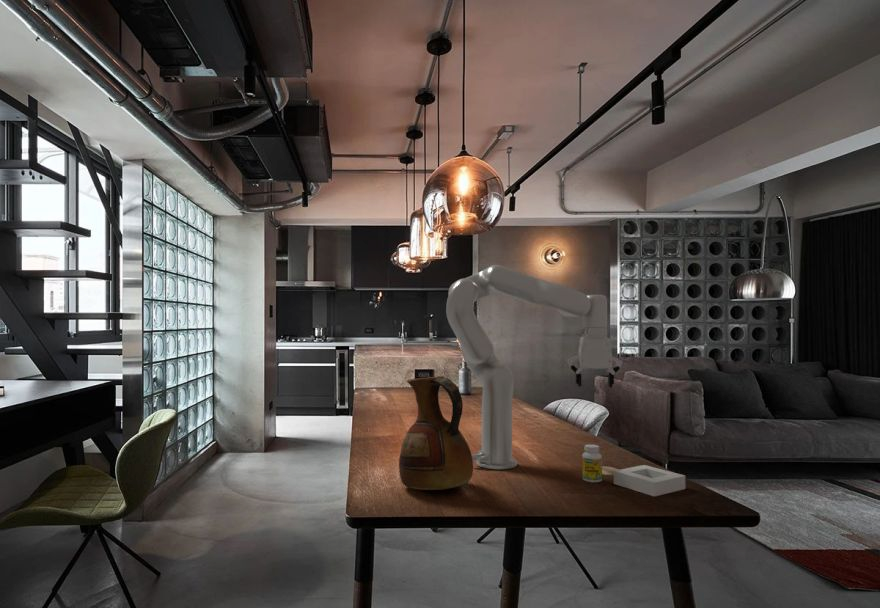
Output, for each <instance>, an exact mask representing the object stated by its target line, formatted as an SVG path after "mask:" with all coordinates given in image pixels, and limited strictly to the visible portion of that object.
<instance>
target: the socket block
mask: <svg viewBox="0 0 880 608" xmlns="http://www.w3.org/2000/svg"><path fill="white" fill-rule="evenodd" d="M613 484H614V485H617V486H620V487H623V488H625V489H630V490H633V491H636V492H640V493H642V494H645V495H648V496H650V497H651V496H652V497H658V496H662V495H666V494H670V493H675V492H678V491H682V490H686V475H684V474H680V473H676V472H674V471H669V470H666V469H661V468H658V467H654V466H651V465H646V464H643V465H641V464H640V465H636V466H631V467H627V468H621V469H619V470H616V471H614V475H613Z"/></svg>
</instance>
